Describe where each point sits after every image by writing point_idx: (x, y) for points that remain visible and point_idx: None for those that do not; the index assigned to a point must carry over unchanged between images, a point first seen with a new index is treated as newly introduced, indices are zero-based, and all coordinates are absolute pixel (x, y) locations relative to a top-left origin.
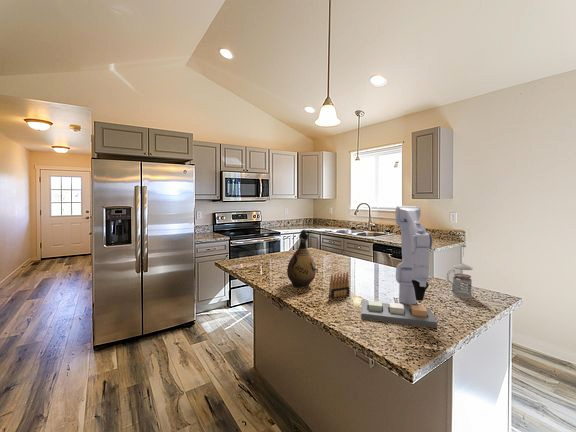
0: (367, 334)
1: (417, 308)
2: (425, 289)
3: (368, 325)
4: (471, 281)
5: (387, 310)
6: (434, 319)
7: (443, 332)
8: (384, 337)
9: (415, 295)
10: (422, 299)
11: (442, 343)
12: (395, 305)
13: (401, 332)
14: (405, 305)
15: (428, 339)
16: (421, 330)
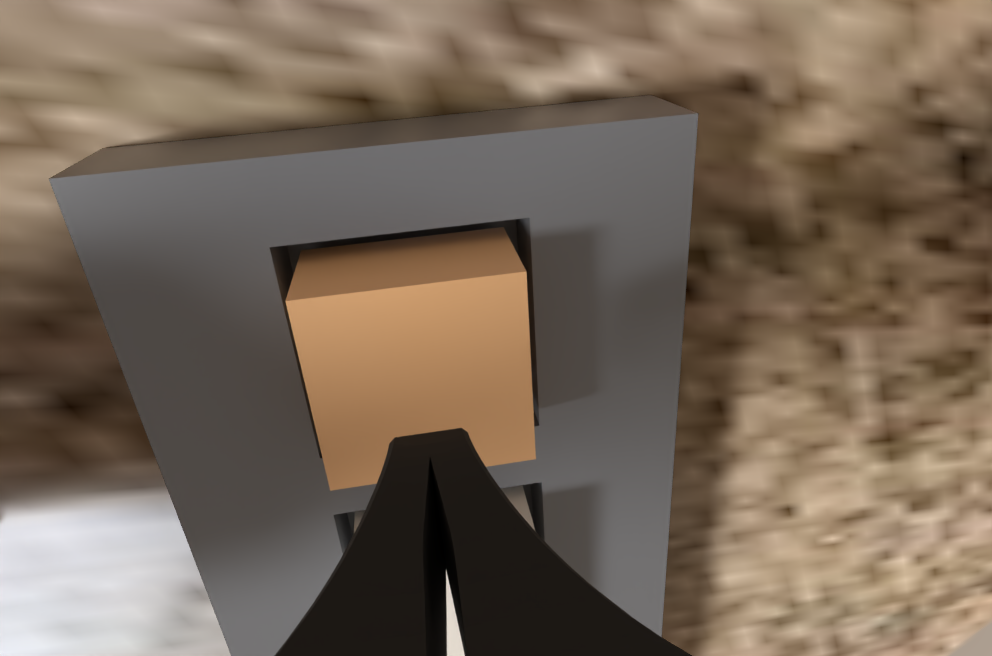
0: (853, 623)
1: (459, 406)
2: (614, 612)
3: (696, 649)
4: None
5: None
6: (593, 142)
7: (681, 12)
8: (887, 529)
9: (445, 599)
10: (473, 446)
11: (966, 70)
12: (457, 638)
13: (776, 434)
14: (181, 510)
15: (889, 208)
16: (688, 268)
